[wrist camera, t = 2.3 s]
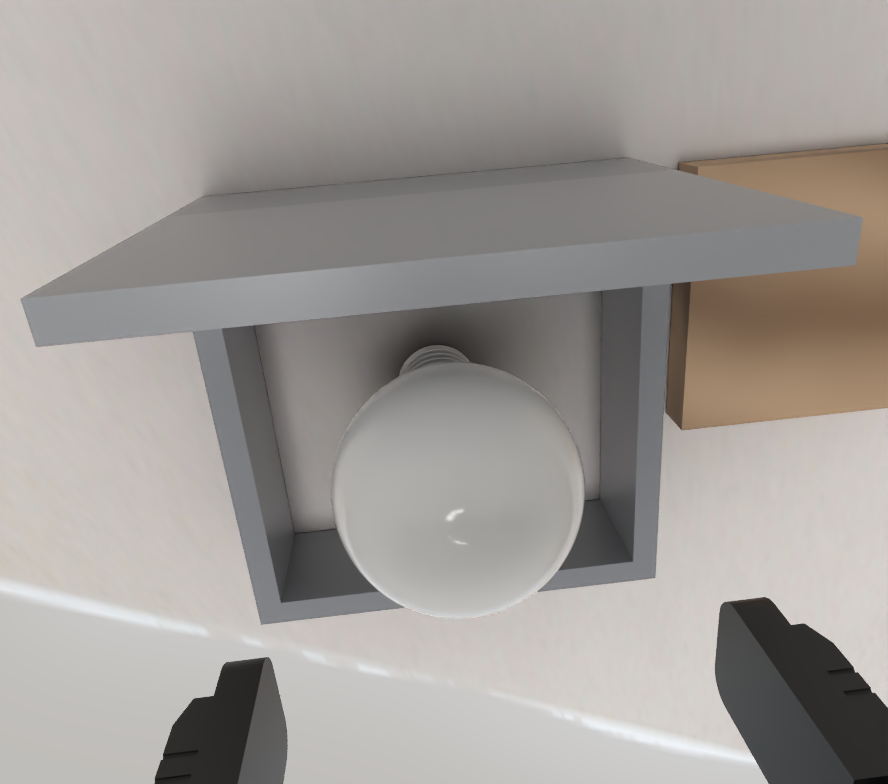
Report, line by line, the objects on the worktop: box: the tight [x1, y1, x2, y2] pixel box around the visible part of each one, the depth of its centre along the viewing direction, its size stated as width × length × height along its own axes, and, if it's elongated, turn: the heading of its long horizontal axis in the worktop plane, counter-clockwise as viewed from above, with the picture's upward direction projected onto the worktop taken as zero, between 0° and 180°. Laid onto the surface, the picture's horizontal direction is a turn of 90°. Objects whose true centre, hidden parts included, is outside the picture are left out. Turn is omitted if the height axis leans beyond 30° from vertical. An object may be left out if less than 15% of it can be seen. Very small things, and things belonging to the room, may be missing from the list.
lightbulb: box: [331, 345, 585, 619], centre depth 20 cm, size 6×6×11 cm
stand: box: [666, 143, 888, 430], centre depth 24 cm, size 9×9×2 cm
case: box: [21, 158, 863, 625], centre depth 19 cm, size 14×14×12 cm
